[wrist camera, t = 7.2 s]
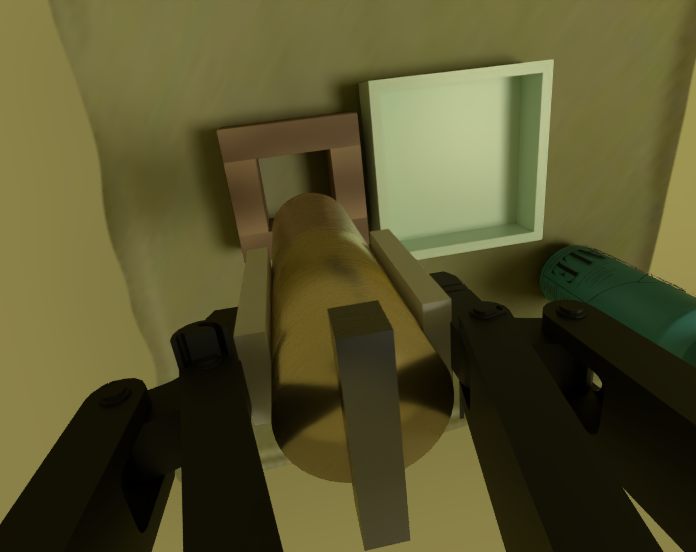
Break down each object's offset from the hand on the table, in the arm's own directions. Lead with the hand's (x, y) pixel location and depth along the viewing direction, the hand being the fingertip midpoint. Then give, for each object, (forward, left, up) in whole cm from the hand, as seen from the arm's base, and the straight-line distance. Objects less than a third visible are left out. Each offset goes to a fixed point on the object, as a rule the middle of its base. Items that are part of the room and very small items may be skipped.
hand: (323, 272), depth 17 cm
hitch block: (0, 0, -21) cm, 21 cm away
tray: (0, +13, -21) cm, 25 cm away
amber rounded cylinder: (0, 0, -6) cm, 6 cm away
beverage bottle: (+12, +24, -22) cm, 35 cm away
